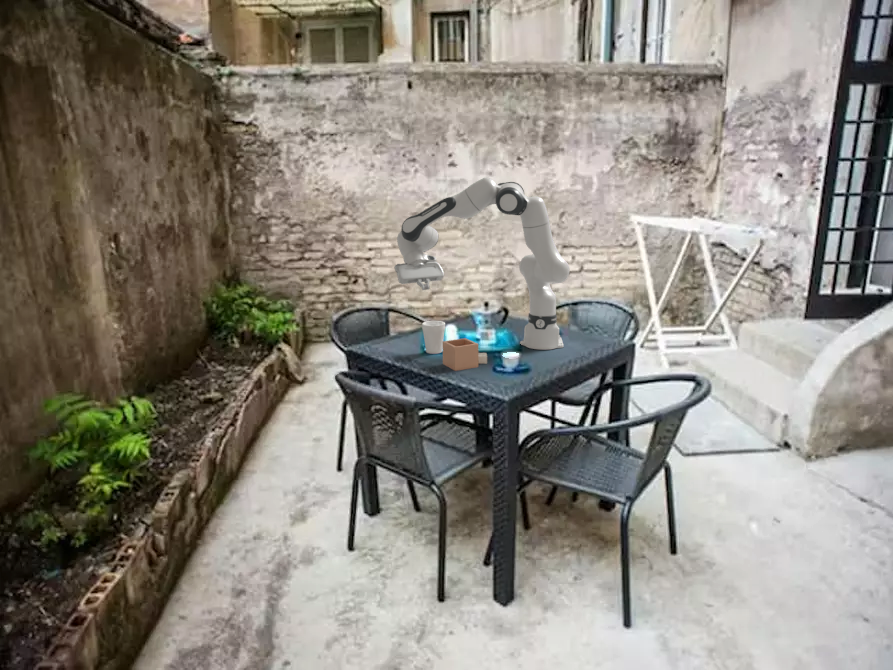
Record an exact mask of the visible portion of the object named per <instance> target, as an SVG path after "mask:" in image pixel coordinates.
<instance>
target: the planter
mask: <svg viewBox="0 0 893 670" xmlns="http://www.w3.org/2000/svg"><path fill="white" fill-rule="evenodd" d="M478 353H479V343H478V342H475V341H473V340H470V339H468V338H466V337H464V338H457V339H450V340H443V348H442V365H444V366H446V367H447V368H450V369H451V370H453V371H454V372H458V371H463V370H469V369H474V368H475V369H476V368H479V364H478Z"/></svg>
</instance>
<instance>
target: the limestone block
mask: <svg viewBox="0 0 893 670" xmlns="http://www.w3.org/2000/svg"><path fill="white" fill-rule="evenodd" d="M481 364H482V365H483V364H485V365H486V364H488V354H487V352H478V365H481Z"/></svg>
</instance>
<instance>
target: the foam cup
mask: <svg viewBox="0 0 893 670" xmlns="http://www.w3.org/2000/svg"><path fill="white" fill-rule="evenodd" d="M421 326H422V328H421V330H422V333H423V338H424V339H423V340H424V345H425V346H424V347H425V352H426V354H431V355H432V354H433V355H435V354H440V353H443V341H444V337H445V336H444V335H445V331H446V322H445V321H441V320H428V321H424V322H422V324H421Z"/></svg>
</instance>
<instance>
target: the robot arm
mask: <svg viewBox="0 0 893 670" xmlns="http://www.w3.org/2000/svg"><path fill="white" fill-rule="evenodd" d="M491 205H495V206H496V208H497V210H499V211H500V212H501V214H505V215H510V216H511V215H512V216H519V217H520V219H521V220H520V221H521V225H522V229H523V236H524V242H525V246H526V247H527V248H528V250H530V251H531V252H532V254H527V255H525V256H524V257H522V258H521V260H520V262H519V271H520V273H521V275H522V277H523V278H524V280H525V283H526V285H527V289H528V296H529V313H528V316H527V318H528V320H527V321H528V323H526V325H525V326H524V334H523V340H521V341H519V345H520V344H521V346H524V347H526V348H529V349H531V350H533V349H534V350H541V351H542V350H546V351H547V350H554V349H560V348H561V349H562V348H564V343H563V339H562V336H561V335H560V327H559V326H558V324H557V321H558V320H557V319H558V318H557V315H558V314H557V312H556V311H557V295H556V294H555V292H554V291H553V289H552V287H551V284H552V285H553V284H561V283H564V282H565V281H567V279H568V278H569V276H570V273H571V271H570V270H571V267H570V265H569V263H568V262H567V261H566V260H565V259H564V257H562V255H561V254H560V252H559V250H558V247H557V246H556V244H555V241H554V238H553V237H554V236H553V232H552V229H551V227H552V226H551V223H550V217H549V211H548V209H547V205H546V203H545V201H544V199H543V198H542V197H540V196H538V195H534V196H533V195H532V196H527V195H526V193H525V189H524V188H523V187H522V185H521V184H519V183H518V182H516V181H515V182H514V181H507V182H500V183H498V184H497V183H496V181H495V180H494V179H492V178H490V177H487V176H486V177H483V178H481V179H478V180H476V181H475V182H473V183H472V184H470V185H469V186H468V187H466V188H465V189H463V190H462V191H461V192H459V193H456V194H455V195H452V196H448V197H445V198H443V199H441V200H439V201H437V202H436V203H434V204H432V205H431V206H429V207H427V208H426V209H425V210H423V211H421V212H419V213H417V214H414V215H412V216H408V217H407V218H406V219H405V220H404V221H403V222H402V225H401V229H400V231H399V232H398V235H397V238H396V242H397V247H398V249H399V252H400V254H401V256H402V258H403V263H397V264H395V265H394V268H393V269H394V270H395V273H396V276H397V281H398V283H399V284H401V285H404V284H415V283H416V284H417V285H418V286H419V287H420V288H421V290H422V291H426V290H427V291H428V290H430V287H431V286H430V282H439V281H442V280H443V278H444V276H445V272H444V270H443V268H442V266H441V264H440V262H438V260H437V259H438V258H437V257H436V256H434V255H429V254H425V253H426V252H428V251H430V250H431V249H433V248H434V247H436V246H437V244H438V242H439V238H440V237H439V236H440V235H439V232H438V230H437V229H436V228H434V227H433V226H431V225H432V224H433V223H435V222H437V221H439V220H441V219H442V218H444V217H453V218H454V217H455V218H460V219H467V220H468V219H471V218H473V217H475V216H477V215H478V214H479V213H481V212H482V211H483V210H485V209H486V208H488V207H490V206H491Z"/></svg>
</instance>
